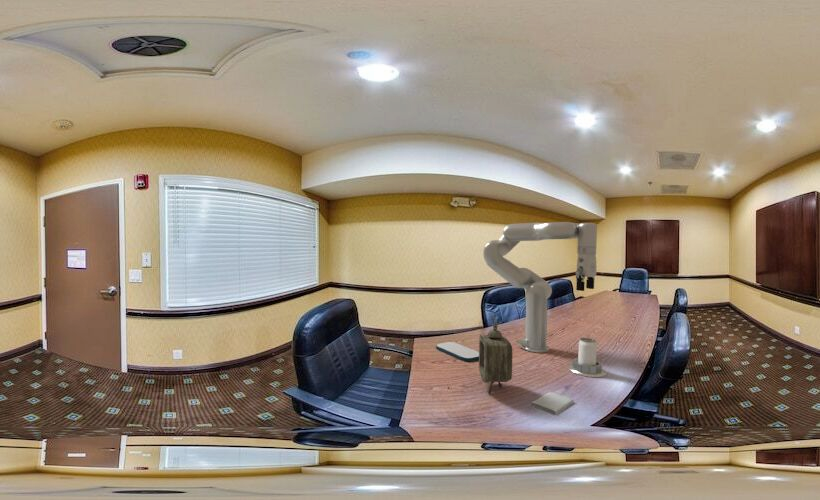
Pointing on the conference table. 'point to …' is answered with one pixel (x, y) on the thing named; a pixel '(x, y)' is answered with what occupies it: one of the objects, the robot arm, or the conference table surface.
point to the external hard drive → (458, 351)
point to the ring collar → (587, 369)
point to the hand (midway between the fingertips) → (585, 289)
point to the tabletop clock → (495, 357)
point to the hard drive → (552, 402)
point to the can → (587, 352)
